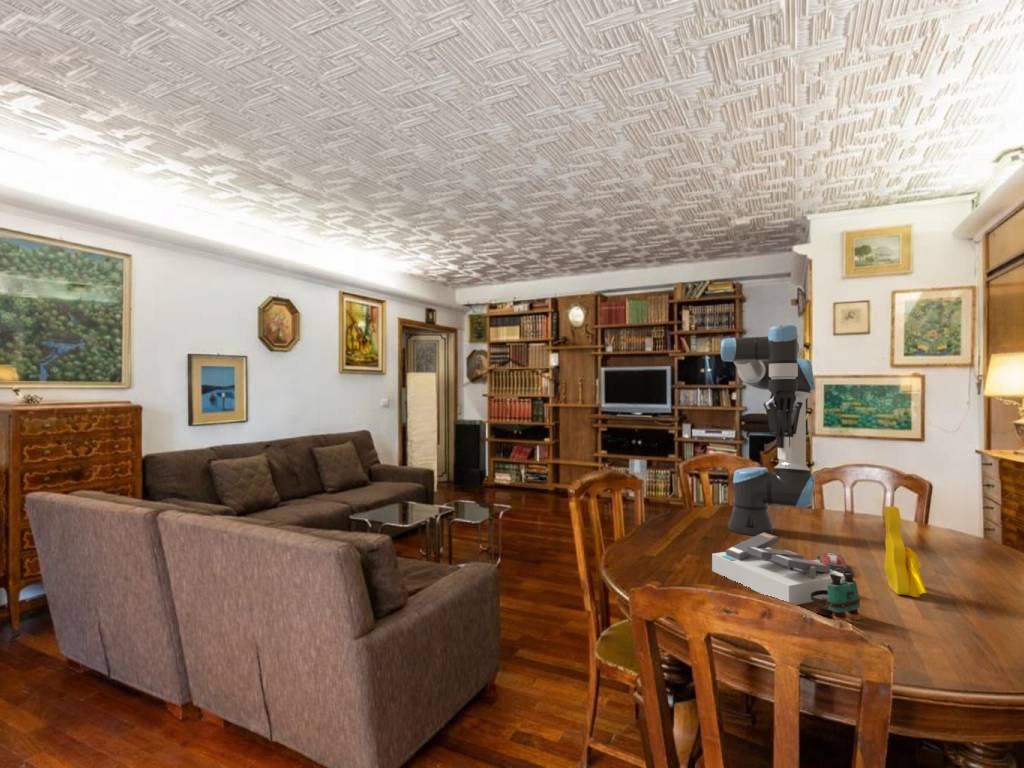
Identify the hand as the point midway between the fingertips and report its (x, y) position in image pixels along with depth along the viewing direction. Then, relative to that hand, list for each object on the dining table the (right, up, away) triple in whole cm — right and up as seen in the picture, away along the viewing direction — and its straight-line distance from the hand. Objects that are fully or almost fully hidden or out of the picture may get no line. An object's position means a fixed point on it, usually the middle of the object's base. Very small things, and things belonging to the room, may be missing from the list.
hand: (783, 459), depth 150 cm
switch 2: (-7, -25, -9) cm, 27 cm away
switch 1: (-10, -25, -2) cm, 27 cm away
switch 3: (-4, -25, -17) cm, 30 cm away
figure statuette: (+22, -32, -17) cm, 43 cm away
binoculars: (-4, -32, -30) cm, 44 cm away
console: (-7, -32, -9) cm, 34 cm away
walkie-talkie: (+13, -33, -1) cm, 35 cm away
